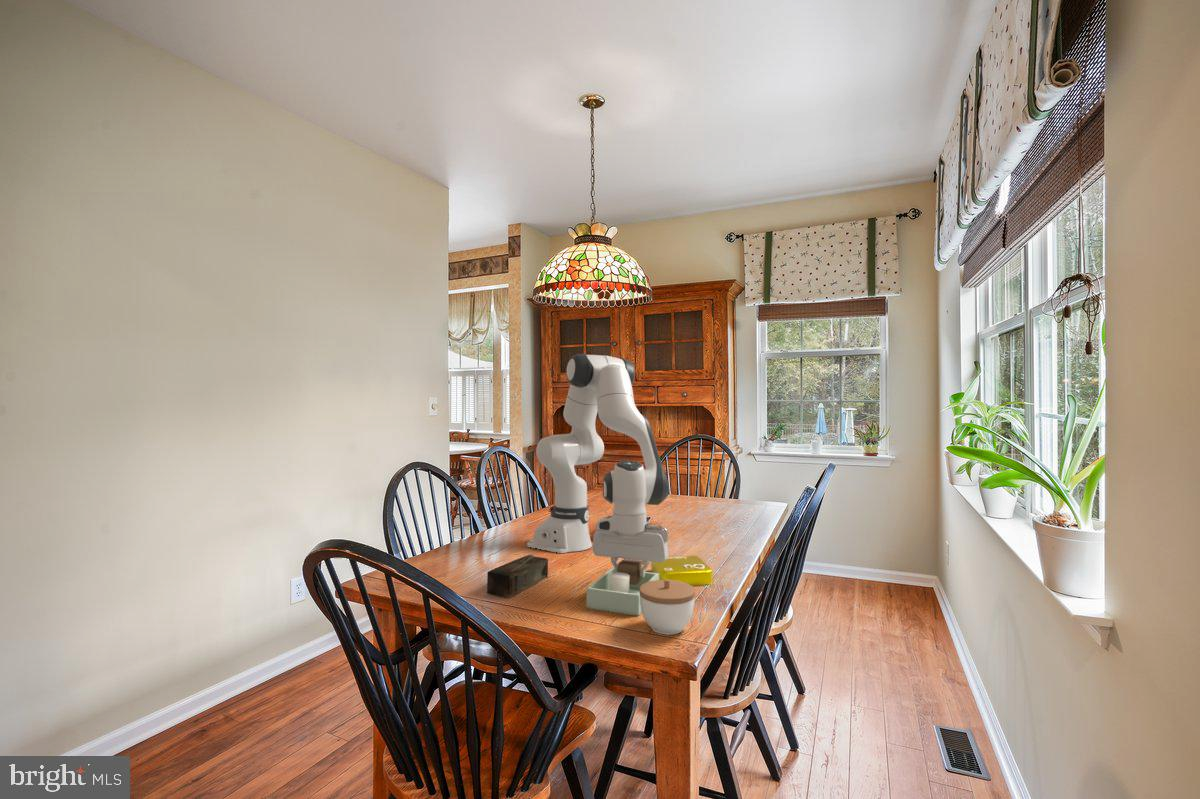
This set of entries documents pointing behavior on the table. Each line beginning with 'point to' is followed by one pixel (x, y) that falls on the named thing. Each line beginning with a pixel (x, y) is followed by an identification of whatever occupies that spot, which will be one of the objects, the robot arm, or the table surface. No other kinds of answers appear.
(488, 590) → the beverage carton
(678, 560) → the element tile
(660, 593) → the lidded bowl
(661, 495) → the robot arm
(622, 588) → the white rounded cylinder
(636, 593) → the tote
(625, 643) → the table surface
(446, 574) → the table surface
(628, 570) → the walnut block
